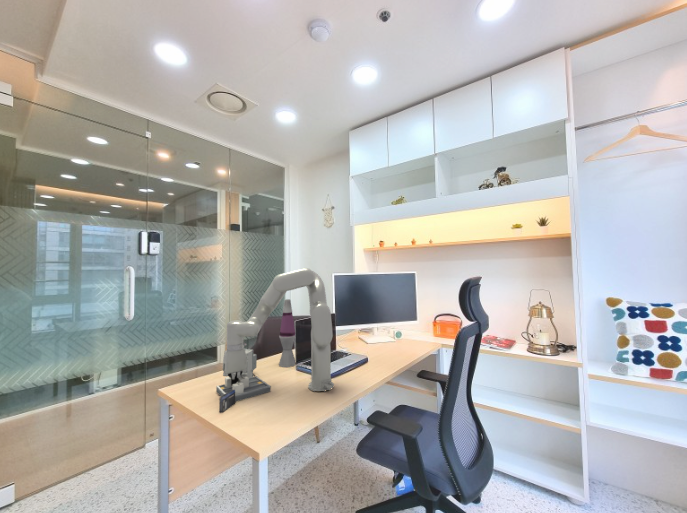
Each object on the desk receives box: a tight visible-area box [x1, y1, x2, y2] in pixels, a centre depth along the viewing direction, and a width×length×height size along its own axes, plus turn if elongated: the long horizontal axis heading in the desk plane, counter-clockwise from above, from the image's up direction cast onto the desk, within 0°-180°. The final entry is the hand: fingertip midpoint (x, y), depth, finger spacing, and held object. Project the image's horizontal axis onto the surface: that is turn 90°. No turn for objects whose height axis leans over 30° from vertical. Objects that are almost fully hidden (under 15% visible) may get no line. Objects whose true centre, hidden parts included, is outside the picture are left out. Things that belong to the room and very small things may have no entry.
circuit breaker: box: [234, 348, 258, 378], centre depth 156 cm, size 8×14×15 cm, turn 174°
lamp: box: [278, 298, 296, 368], centre depth 178 cm, size 11×11×40 cm
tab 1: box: [224, 376, 232, 388], centre depth 139 cm, size 3×4×5 cm
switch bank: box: [215, 376, 272, 403], centre depth 138 cm, size 17×20×3 cm
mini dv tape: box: [218, 390, 236, 413], centre depth 122 cm, size 8×2×6 cm, turn 164°
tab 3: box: [239, 376, 249, 388], centre depth 138 cm, size 3×4×5 cm
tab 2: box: [232, 382, 244, 395], centre depth 131 cm, size 3×4×5 cm
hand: (234, 386), depth 135 cm, fingers closed
